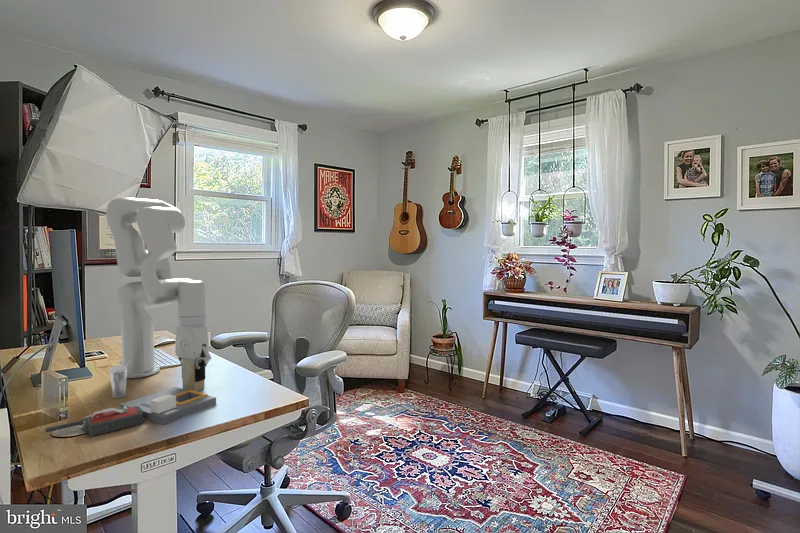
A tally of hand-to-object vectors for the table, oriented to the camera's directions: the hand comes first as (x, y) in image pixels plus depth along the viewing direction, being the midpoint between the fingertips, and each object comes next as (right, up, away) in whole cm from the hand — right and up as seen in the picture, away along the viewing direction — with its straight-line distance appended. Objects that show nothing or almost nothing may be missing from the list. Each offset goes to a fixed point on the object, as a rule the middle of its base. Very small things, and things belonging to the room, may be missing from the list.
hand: (193, 378), depth 137 cm
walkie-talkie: (-10, -5, -28) cm, 30 cm away
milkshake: (-19, -4, -6) cm, 20 cm away
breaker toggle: (+2, -3, -21) cm, 22 cm away
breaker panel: (0, -4, -15) cm, 15 cm away
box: (0, -4, 0) cm, 4 cm away
